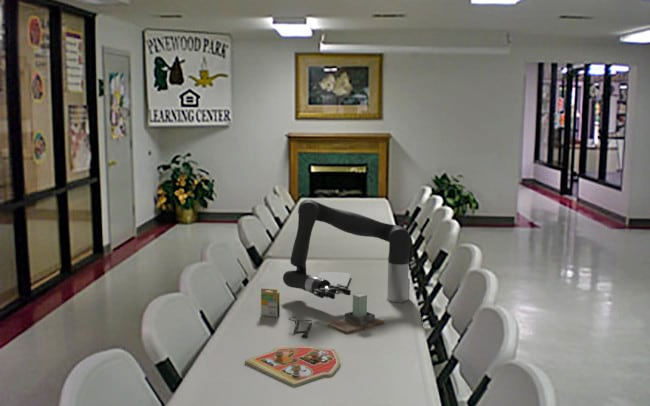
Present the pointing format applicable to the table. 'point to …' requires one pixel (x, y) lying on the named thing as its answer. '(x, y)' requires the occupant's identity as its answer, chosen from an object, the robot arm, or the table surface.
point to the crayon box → (270, 303)
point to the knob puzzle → (297, 364)
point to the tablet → (335, 277)
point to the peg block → (359, 305)
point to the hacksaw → (301, 331)
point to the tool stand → (355, 323)
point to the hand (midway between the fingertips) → (342, 294)
